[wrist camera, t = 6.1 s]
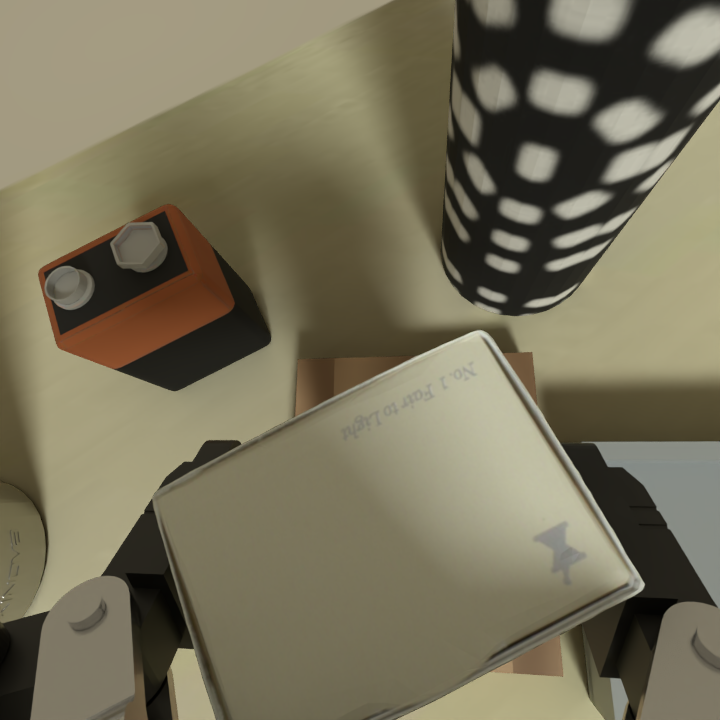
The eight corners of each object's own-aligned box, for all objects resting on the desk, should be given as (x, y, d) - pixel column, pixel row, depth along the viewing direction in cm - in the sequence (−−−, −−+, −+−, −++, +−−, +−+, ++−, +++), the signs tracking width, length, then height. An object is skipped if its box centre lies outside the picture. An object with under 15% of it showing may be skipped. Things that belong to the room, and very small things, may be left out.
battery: (276, 344, 27) (192, 265, 17) (174, 396, 27) (34, 346, 17) (250, 285, 28) (159, 182, 19) (152, 334, 28) (12, 257, 19)
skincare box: (447, 418, 19) (495, 306, 7) (502, 520, 17) (672, 588, 6) (311, 485, 19) (136, 483, 7) (356, 593, 17) (233, 808, 6)
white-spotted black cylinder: (560, 338, 24) (1029, -188, 5) (418, 285, 26) (394, -234, 7) (610, 211, 26) (1116, -548, 7) (473, 171, 28) (570, -504, 9)
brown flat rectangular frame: (295, 643, 22) (283, 658, 20) (307, 368, 26) (298, 359, 24) (550, 658, 21) (563, 676, 19) (524, 362, 24) (532, 352, 22)
